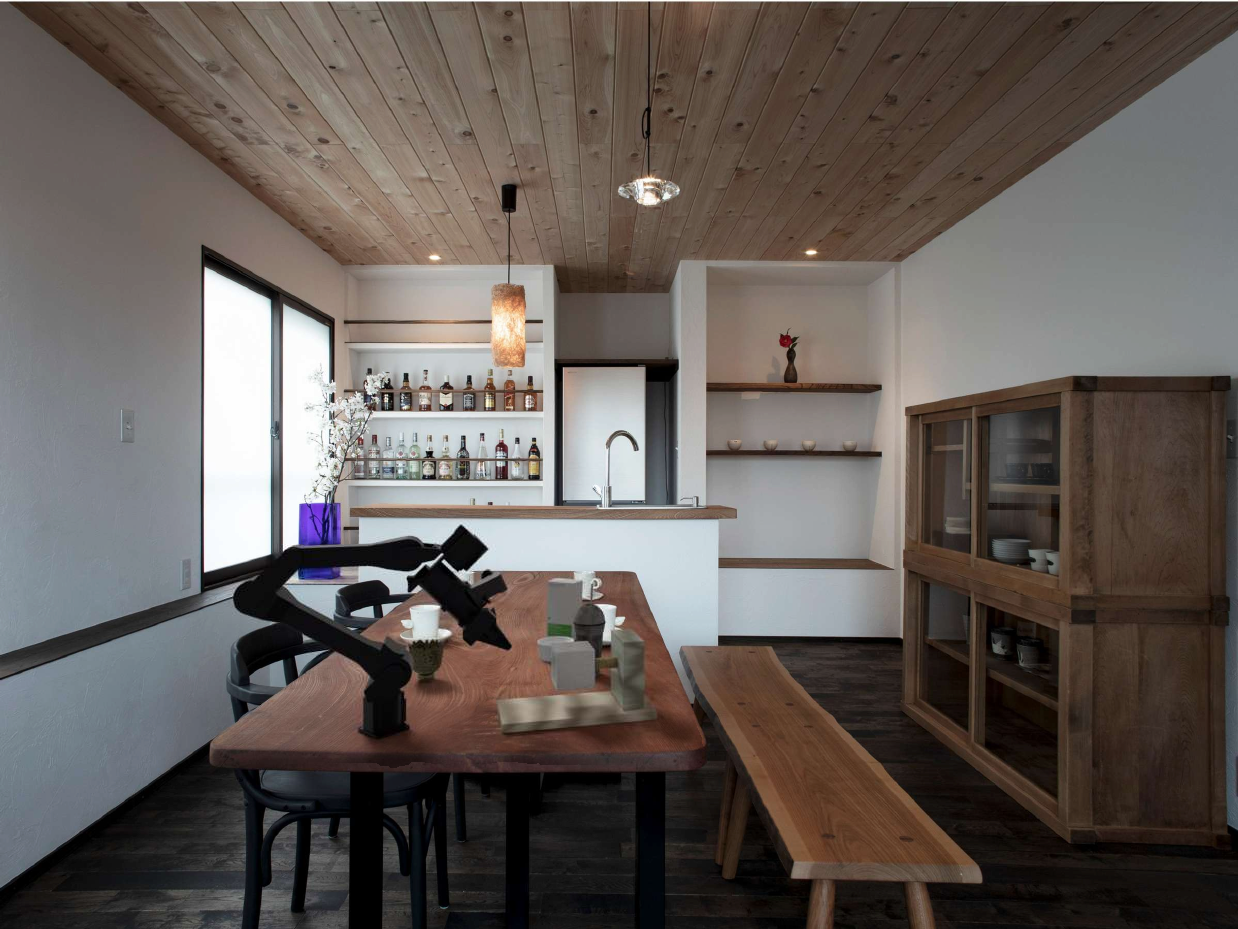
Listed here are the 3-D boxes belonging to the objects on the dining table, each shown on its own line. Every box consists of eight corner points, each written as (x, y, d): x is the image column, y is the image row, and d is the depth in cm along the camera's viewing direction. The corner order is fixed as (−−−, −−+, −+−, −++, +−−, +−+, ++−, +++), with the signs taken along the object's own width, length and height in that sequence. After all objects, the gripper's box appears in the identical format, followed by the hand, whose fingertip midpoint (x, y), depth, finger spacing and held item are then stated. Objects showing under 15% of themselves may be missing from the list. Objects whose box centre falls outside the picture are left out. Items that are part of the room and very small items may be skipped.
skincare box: (545, 639, 185) (545, 581, 185) (554, 633, 191) (554, 577, 191) (574, 641, 182) (574, 582, 182) (583, 635, 189) (583, 578, 189)
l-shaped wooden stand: (502, 733, 119) (502, 652, 120) (497, 707, 132) (497, 634, 132) (657, 719, 126) (657, 642, 126) (638, 696, 139) (638, 626, 139)
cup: (434, 686, 145) (434, 648, 145) (401, 684, 147) (402, 646, 147) (449, 675, 152) (449, 639, 152) (419, 673, 154) (419, 637, 154)
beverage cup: (566, 676, 152) (566, 585, 152) (583, 667, 158) (583, 580, 159) (595, 681, 149) (595, 588, 149) (611, 672, 155) (611, 583, 155)
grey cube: (556, 691, 125) (556, 652, 125) (551, 679, 132) (551, 643, 132) (594, 688, 126) (594, 650, 126) (587, 677, 133) (587, 641, 133)
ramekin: (540, 664, 161) (540, 646, 161) (534, 655, 170) (534, 637, 170) (577, 662, 164) (577, 643, 164) (570, 652, 172) (570, 635, 172)
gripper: (483, 564, 116) (548, 626, 119) (478, 551, 134) (535, 605, 137) (434, 613, 114) (501, 676, 117) (436, 593, 132) (495, 648, 135)
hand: (510, 648), depth 126 cm, fingers closed
